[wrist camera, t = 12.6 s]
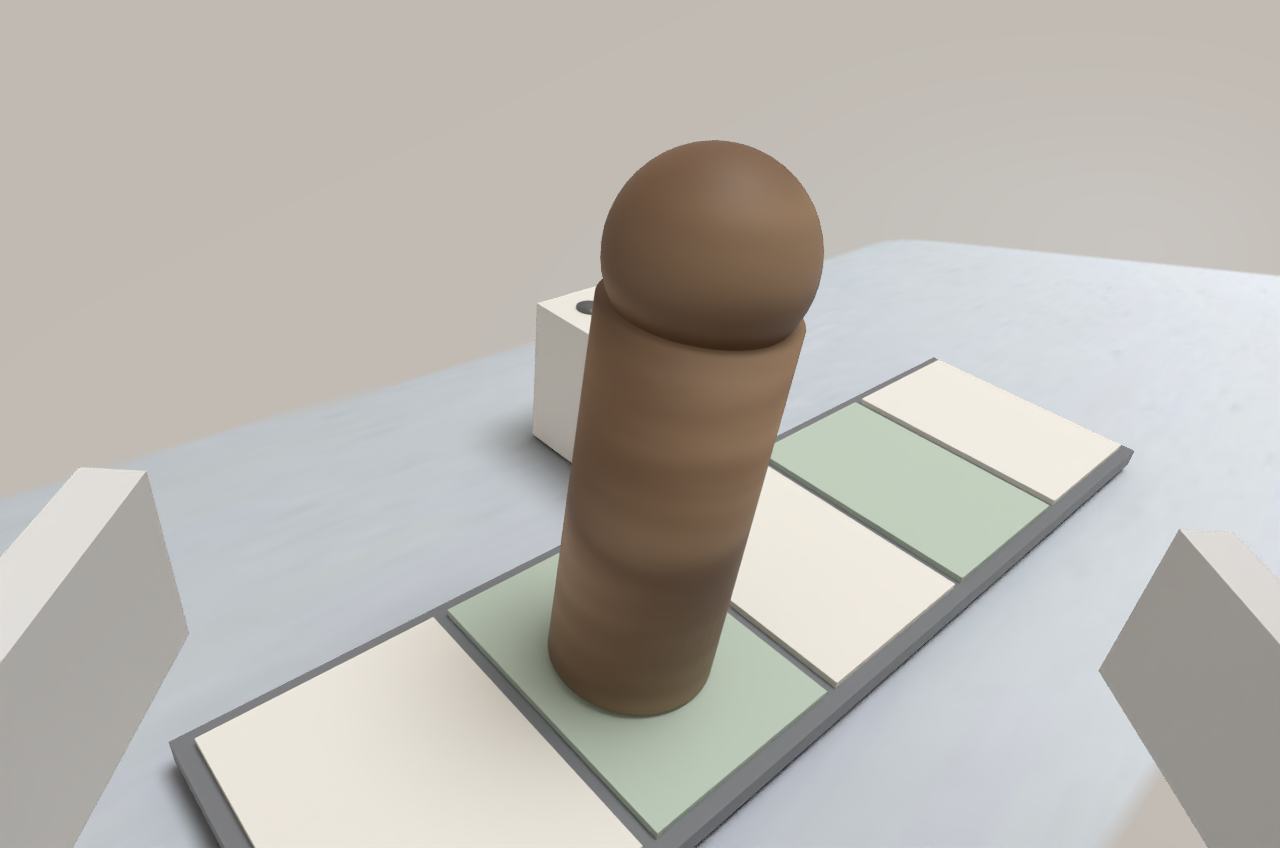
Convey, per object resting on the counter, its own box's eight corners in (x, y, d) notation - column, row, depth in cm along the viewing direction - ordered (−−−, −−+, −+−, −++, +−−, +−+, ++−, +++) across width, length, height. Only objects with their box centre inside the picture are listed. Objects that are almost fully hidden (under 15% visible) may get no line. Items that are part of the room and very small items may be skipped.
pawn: (745, 665, 21) (898, 172, 14) (621, 744, 18) (740, 192, 12) (637, 569, 23) (729, 111, 17) (514, 628, 21) (568, 116, 14)
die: (735, 452, 30) (759, 322, 27) (629, 506, 27) (645, 366, 24) (638, 391, 33) (651, 268, 30) (532, 433, 30) (536, 301, 27)
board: (1127, 464, 32) (1136, 446, 31) (370, 1133, 13) (366, 1112, 13) (929, 369, 36) (935, 353, 36) (174, 760, 18) (166, 736, 18)
